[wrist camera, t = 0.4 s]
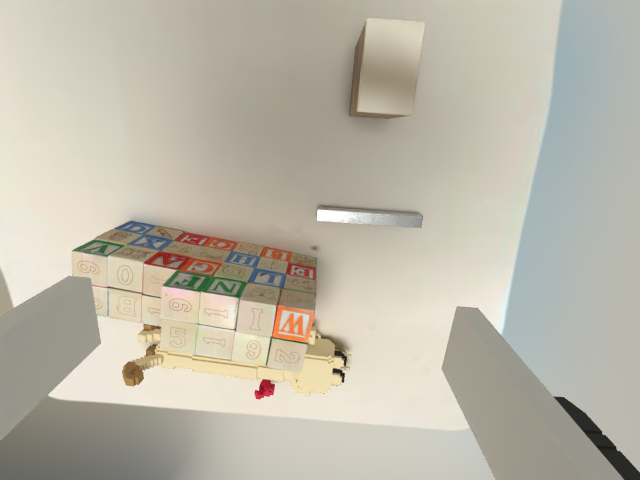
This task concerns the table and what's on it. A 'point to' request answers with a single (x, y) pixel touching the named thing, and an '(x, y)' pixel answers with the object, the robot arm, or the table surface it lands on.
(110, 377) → the table surface
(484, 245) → the table surface
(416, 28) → the walnut block
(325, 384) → the cream long toy figure
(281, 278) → the stack of blocks
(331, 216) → the grey bar
